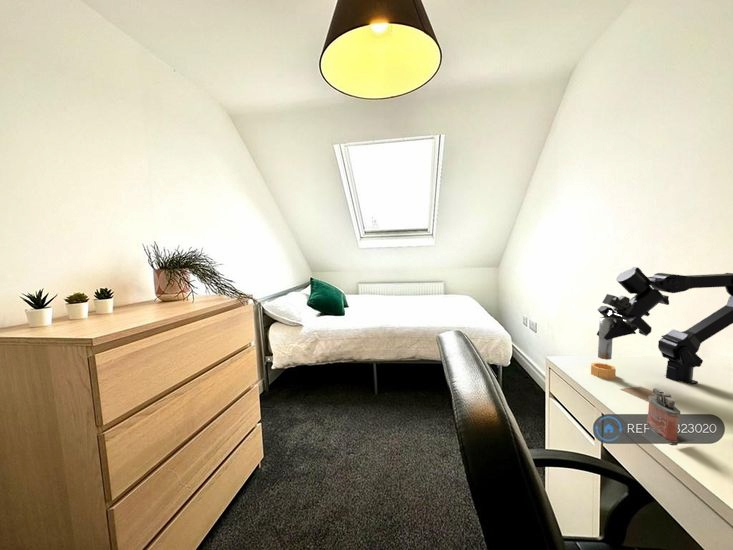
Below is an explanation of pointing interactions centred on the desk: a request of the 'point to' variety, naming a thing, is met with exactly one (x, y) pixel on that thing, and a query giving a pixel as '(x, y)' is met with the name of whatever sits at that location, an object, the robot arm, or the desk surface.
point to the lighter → (663, 416)
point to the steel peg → (604, 345)
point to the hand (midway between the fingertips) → (601, 337)
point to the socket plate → (603, 370)
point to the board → (639, 392)
